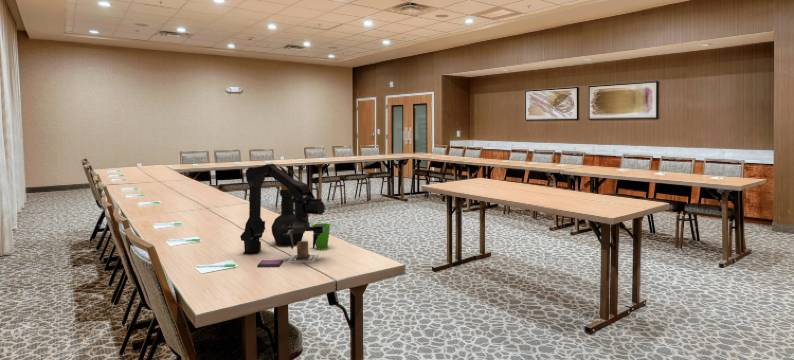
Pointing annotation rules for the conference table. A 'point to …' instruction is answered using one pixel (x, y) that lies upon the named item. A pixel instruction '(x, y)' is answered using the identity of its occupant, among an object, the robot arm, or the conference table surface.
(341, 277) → the conference table surface
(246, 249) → the robot arm
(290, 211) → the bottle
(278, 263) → the ink pad
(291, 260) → the frame
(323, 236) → the cup
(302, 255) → the stamp
